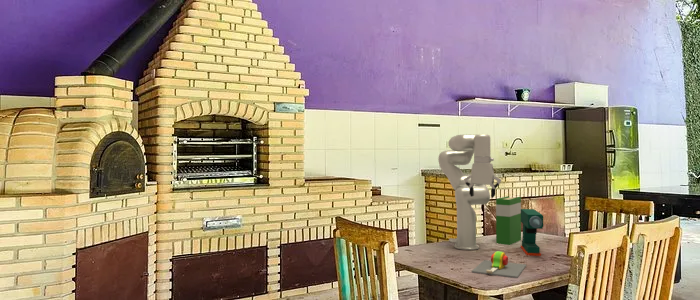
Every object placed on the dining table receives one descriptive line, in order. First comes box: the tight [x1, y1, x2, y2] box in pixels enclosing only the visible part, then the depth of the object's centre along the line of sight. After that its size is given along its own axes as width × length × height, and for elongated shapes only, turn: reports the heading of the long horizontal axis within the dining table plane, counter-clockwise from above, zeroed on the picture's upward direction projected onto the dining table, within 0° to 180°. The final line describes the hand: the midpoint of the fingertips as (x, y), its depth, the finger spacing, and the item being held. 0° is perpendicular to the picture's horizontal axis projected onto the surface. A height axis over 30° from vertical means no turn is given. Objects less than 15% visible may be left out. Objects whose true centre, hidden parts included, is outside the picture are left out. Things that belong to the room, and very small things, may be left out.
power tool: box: [520, 208, 544, 257], centre depth 226 cm, size 32×7×20 cm, turn 168°
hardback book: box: [495, 196, 522, 246], centre depth 258 cm, size 18×7×24 cm, turn 141°
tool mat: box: [471, 259, 527, 279], centre depth 199 cm, size 18×22×1 cm
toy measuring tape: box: [486, 251, 509, 274], centre depth 197 cm, size 6×19×7 cm, turn 144°
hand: (482, 196), depth 222 cm, fingers open, 9 cm apart
